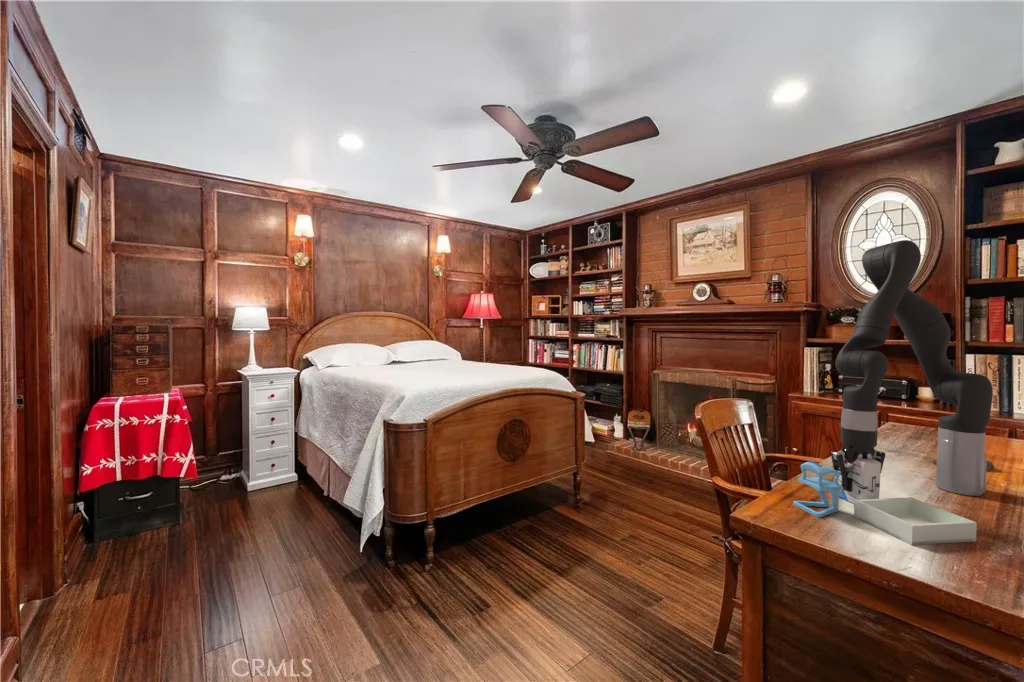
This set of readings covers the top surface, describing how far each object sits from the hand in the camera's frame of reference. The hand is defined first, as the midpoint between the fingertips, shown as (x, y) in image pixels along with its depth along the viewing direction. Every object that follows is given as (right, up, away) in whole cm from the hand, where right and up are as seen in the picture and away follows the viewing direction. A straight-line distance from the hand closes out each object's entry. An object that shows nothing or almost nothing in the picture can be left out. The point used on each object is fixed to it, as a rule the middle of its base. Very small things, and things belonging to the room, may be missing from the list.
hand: (856, 490), depth 114 cm
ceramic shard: (+57, -2, +32) cm, 66 cm away
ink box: (0, -3, 0) cm, 3 cm away
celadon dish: (+1, -4, -15) cm, 15 cm away
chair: (-13, -3, -5) cm, 15 cm away
